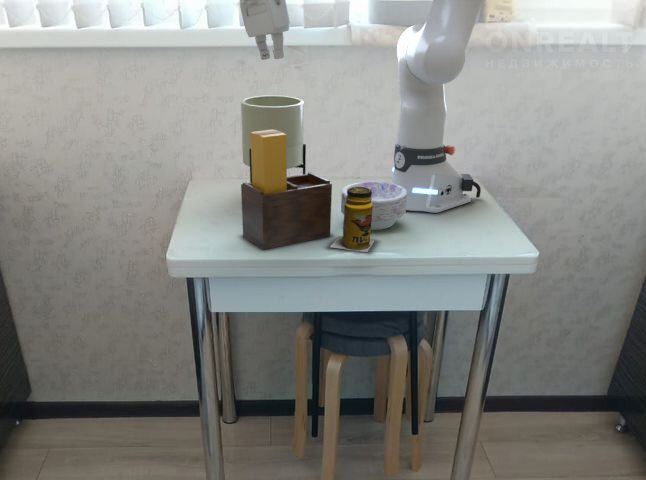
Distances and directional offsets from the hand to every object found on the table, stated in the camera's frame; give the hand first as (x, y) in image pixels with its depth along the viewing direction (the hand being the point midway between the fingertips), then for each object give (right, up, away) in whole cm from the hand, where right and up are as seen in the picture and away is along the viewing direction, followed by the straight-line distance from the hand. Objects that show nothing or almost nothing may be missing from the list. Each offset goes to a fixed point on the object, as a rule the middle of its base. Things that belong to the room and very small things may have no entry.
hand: (272, 59), depth 150 cm
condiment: (+18, -39, +4) cm, 43 cm away
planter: (0, -19, +31) cm, 36 cm away
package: (-1, -29, 0) cm, 29 cm away
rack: (+3, -36, +8) cm, 37 cm away
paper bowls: (+23, -31, +16) cm, 41 cm away
